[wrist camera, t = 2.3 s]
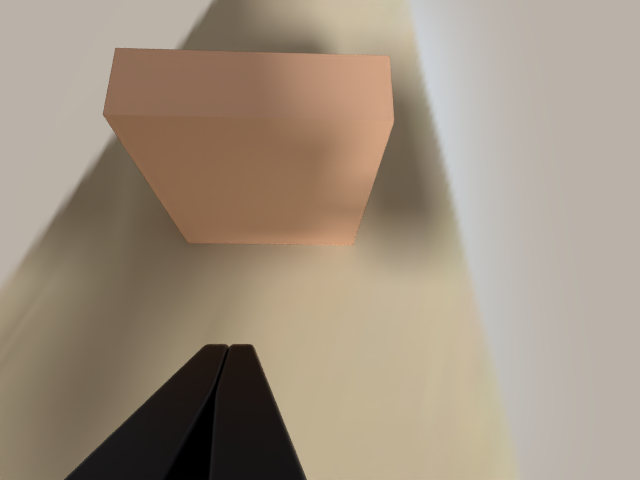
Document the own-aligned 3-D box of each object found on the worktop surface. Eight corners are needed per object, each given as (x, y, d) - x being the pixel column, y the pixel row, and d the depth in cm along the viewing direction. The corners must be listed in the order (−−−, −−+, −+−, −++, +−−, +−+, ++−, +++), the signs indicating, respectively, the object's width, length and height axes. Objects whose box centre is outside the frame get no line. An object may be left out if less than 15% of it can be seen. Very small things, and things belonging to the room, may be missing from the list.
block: (353, 244, 20) (394, 121, 11) (187, 243, 19) (103, 114, 11) (351, 199, 20) (389, 51, 12) (192, 196, 20) (116, 43, 12)
